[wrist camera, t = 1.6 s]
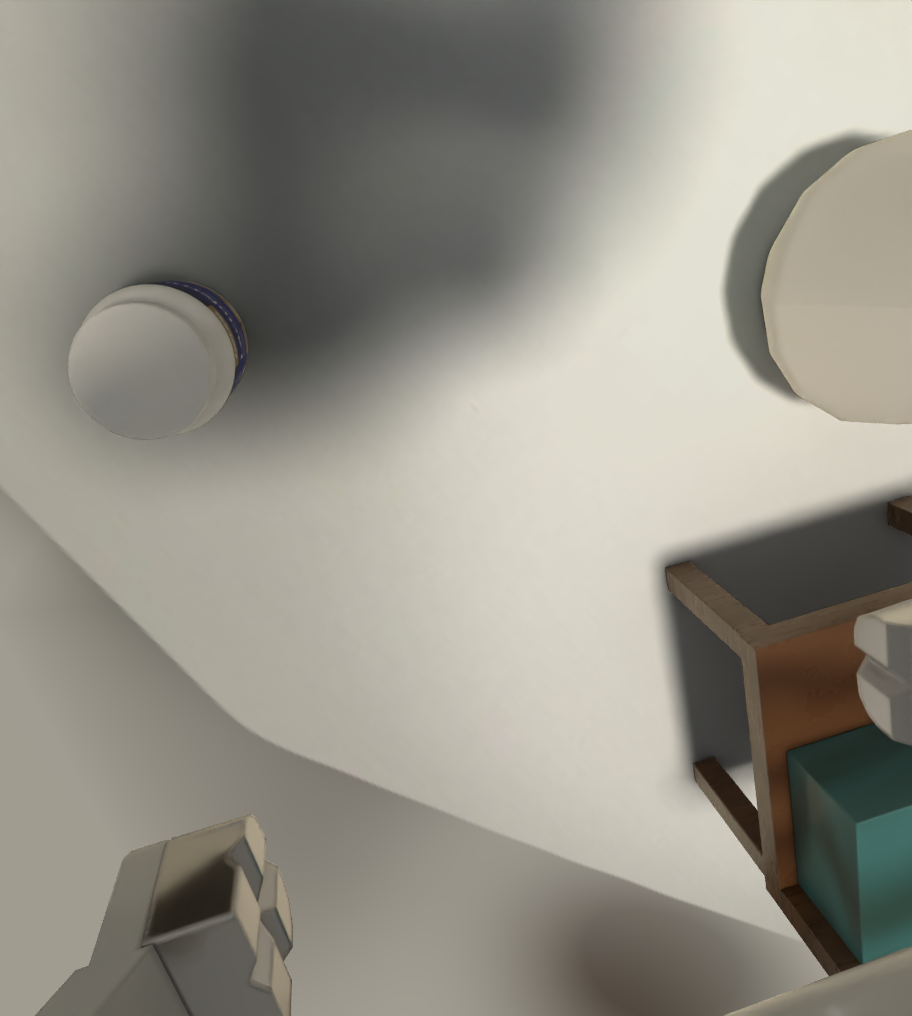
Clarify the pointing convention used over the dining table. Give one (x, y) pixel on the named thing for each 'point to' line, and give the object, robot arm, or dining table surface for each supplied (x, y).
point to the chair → (816, 771)
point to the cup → (848, 287)
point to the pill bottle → (157, 359)
